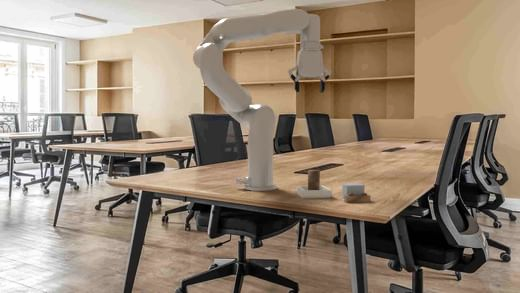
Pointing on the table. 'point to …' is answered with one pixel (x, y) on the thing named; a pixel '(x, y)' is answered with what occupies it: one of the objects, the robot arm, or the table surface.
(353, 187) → the pale blue block
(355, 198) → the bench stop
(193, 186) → the table surface
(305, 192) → the tray
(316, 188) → the dowel
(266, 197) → the table surface
